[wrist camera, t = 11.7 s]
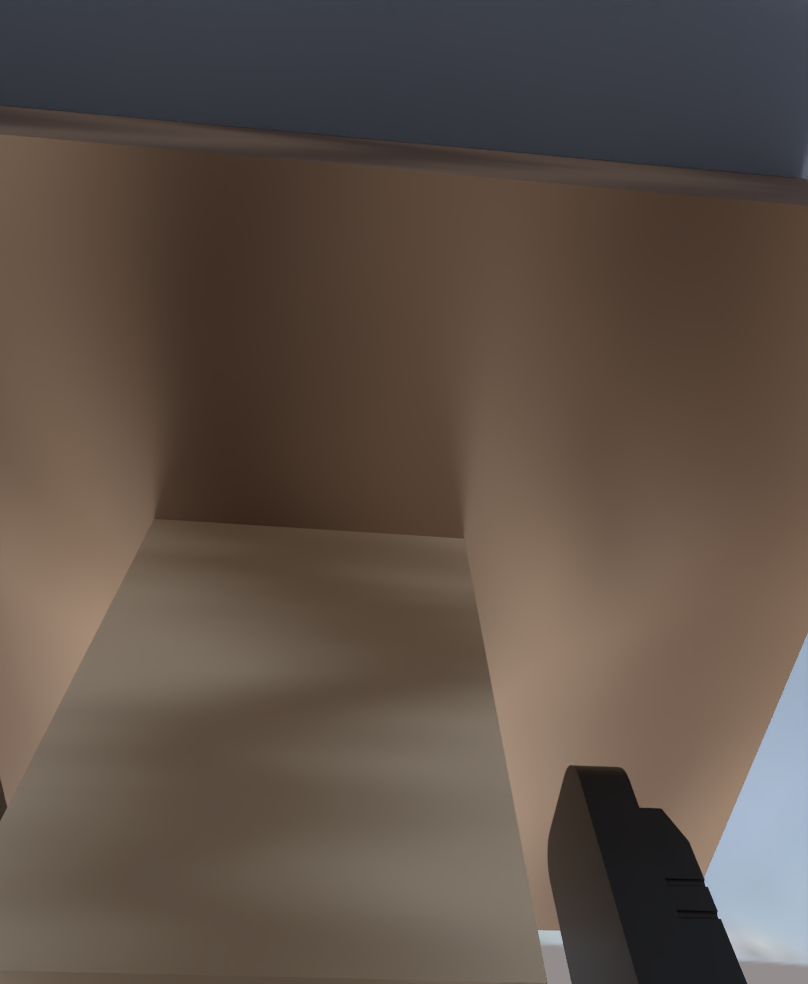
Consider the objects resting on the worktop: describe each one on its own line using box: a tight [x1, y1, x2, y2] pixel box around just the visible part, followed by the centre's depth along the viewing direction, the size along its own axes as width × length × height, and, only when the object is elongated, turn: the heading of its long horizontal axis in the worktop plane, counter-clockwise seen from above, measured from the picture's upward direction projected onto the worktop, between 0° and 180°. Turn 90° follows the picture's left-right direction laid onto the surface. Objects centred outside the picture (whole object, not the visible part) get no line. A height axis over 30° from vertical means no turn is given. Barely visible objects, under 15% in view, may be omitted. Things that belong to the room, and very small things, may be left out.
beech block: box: [0, 519, 547, 984], centre depth 10 cm, size 5×5×7 cm
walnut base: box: [0, 106, 808, 930], centre depth 16 cm, size 18×16×5 cm
